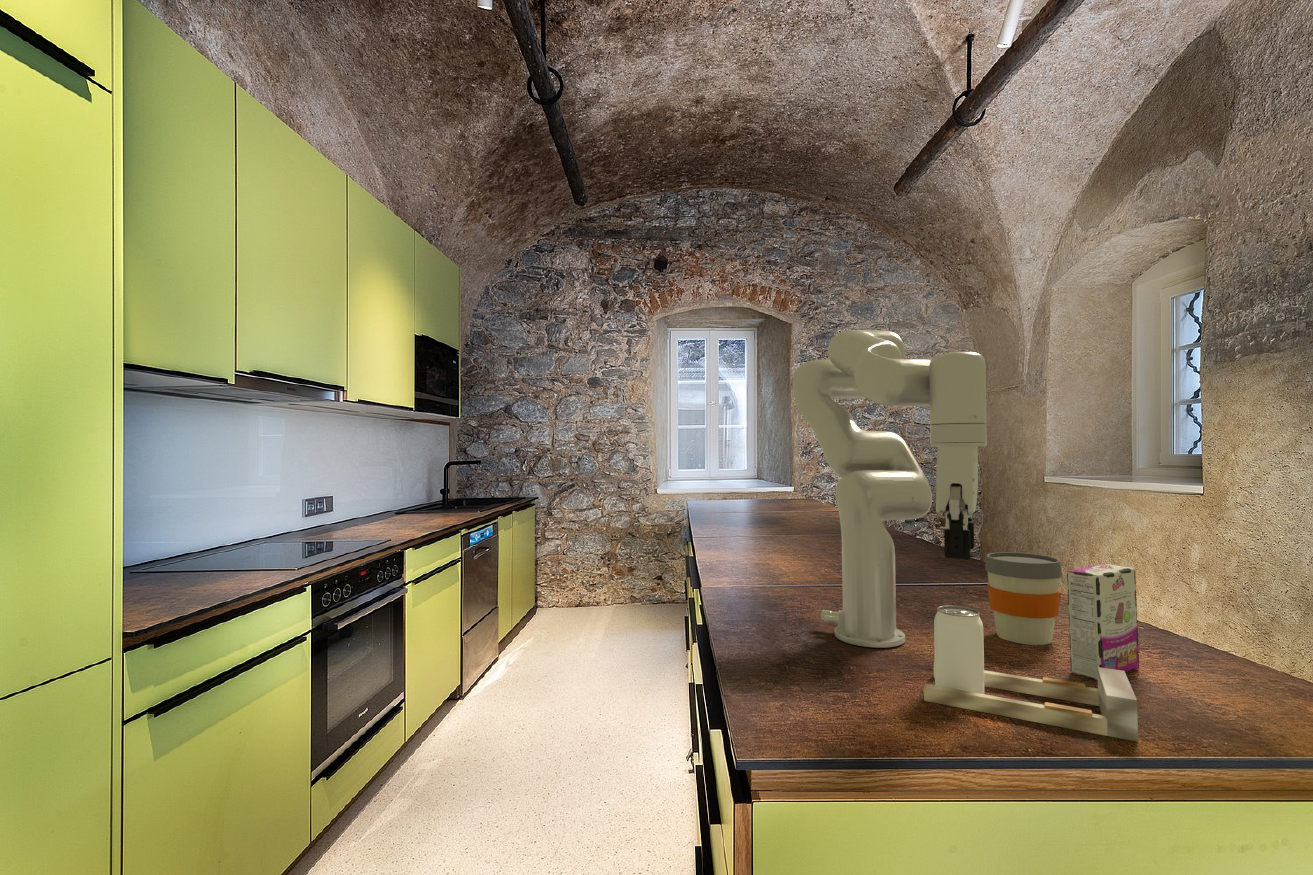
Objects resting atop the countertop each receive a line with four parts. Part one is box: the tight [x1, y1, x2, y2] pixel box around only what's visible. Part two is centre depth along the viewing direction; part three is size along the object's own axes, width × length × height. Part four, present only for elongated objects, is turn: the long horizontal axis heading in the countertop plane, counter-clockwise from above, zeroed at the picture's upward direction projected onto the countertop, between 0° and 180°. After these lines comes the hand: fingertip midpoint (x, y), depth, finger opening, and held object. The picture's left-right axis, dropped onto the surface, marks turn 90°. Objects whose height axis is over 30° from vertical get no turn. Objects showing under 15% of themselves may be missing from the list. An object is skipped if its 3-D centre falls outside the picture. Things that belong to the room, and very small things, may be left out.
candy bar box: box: [1066, 563, 1141, 681], centre depth 98 cm, size 11×5×16 cm, turn 117°
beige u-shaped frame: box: [923, 661, 1139, 742], centre depth 85 cm, size 24×11×5 cm, turn 59°
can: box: [933, 605, 985, 694], centre depth 89 cm, size 6×6×12 cm
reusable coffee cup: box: [984, 551, 1063, 646], centre depth 115 cm, size 12×12×15 cm
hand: (960, 553), depth 90 cm, fingers open, 9 cm apart
